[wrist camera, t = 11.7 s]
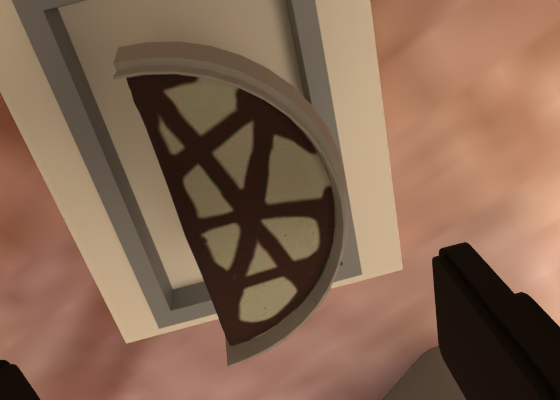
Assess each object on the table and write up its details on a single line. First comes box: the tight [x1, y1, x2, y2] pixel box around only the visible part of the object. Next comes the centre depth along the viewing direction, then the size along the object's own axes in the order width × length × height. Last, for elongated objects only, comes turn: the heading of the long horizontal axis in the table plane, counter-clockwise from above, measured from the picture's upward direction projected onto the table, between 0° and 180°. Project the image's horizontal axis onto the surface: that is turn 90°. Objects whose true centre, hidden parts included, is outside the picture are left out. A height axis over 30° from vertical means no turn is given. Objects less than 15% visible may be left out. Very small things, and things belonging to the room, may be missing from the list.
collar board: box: [0, 0, 403, 343], centre depth 24 cm, size 22×18×3 cm
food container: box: [113, 41, 349, 367], centre depth 20 cm, size 12×6×10 cm, turn 13°
